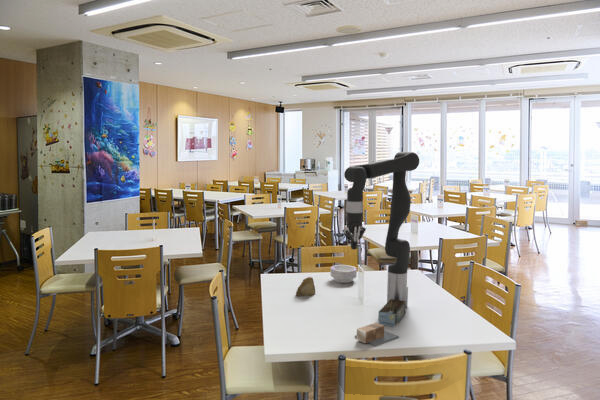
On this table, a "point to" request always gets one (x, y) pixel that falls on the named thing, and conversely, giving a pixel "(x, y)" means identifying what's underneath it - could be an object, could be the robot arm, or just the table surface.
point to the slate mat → (383, 338)
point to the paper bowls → (343, 273)
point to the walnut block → (370, 332)
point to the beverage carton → (392, 312)
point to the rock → (306, 287)
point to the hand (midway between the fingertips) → (354, 249)
